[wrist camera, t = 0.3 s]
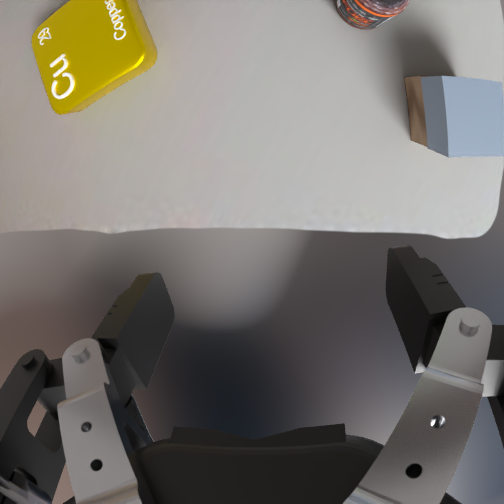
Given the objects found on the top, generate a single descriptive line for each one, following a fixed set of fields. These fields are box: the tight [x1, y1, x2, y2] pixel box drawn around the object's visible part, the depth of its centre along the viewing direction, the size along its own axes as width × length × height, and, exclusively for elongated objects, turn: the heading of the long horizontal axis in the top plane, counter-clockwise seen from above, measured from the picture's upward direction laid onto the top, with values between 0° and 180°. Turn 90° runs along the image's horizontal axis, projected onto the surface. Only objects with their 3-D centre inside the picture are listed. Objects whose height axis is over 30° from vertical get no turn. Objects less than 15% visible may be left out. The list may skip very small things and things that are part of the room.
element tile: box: [32, 0, 157, 115], centre depth 28 cm, size 15×15×5 cm
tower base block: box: [404, 76, 429, 147], centre depth 29 cm, size 8×8×5 cm
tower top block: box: [420, 76, 504, 157], centre depth 24 cm, size 8×8×5 cm
